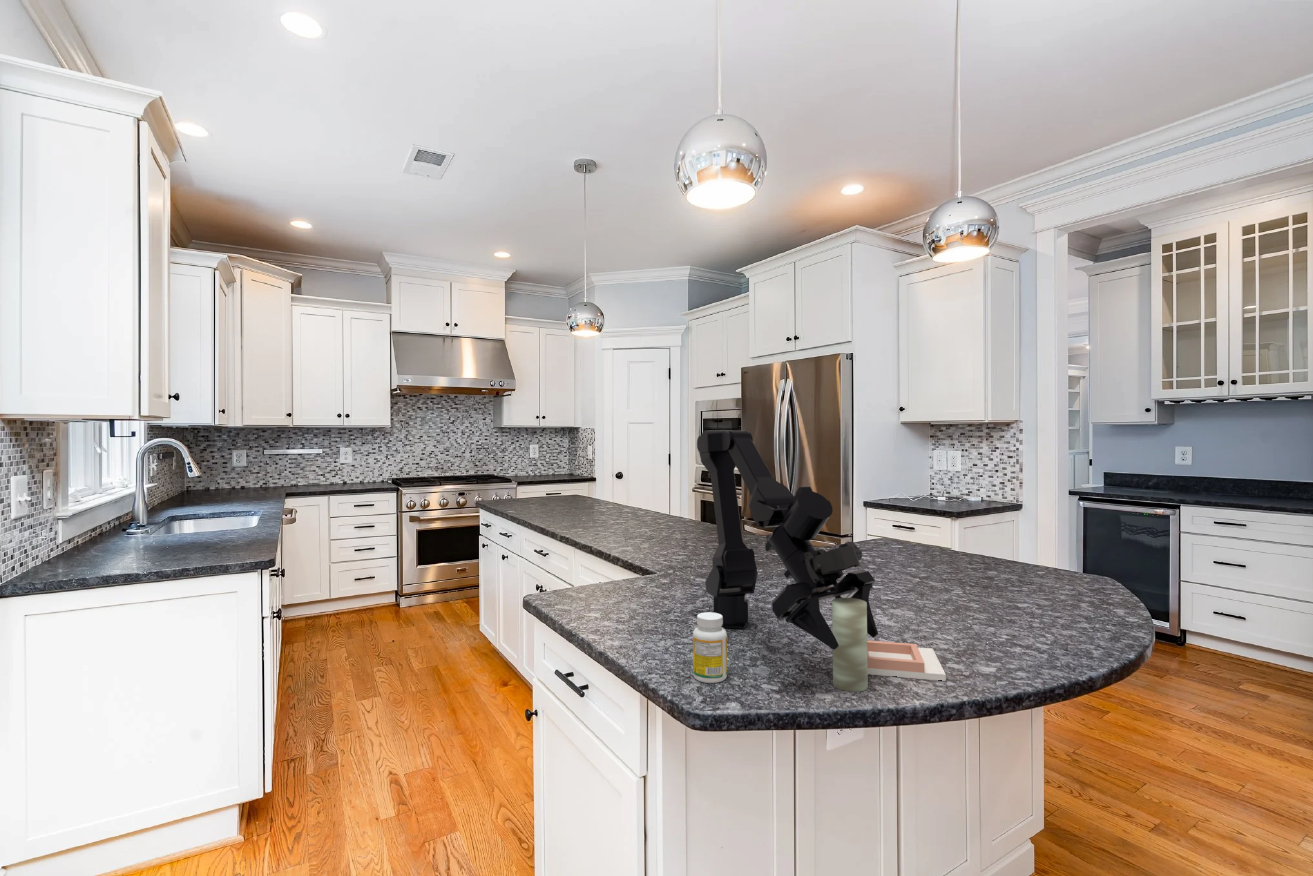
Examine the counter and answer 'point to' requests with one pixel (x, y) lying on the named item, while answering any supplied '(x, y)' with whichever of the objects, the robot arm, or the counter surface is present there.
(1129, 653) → the counter surface
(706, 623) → the supplement bottle
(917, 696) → the counter surface
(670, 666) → the counter surface
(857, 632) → the post
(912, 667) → the board
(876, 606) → the counter surface
